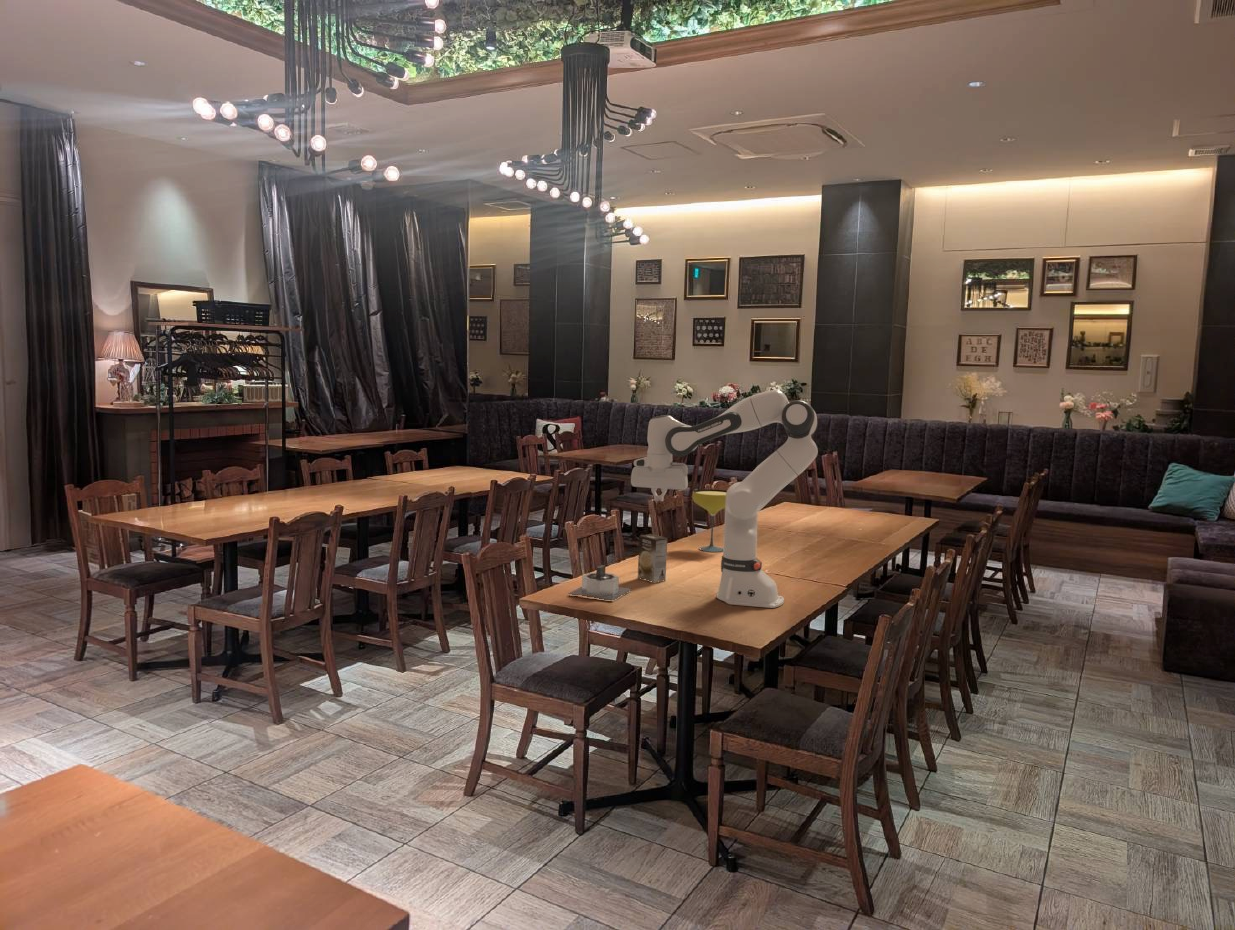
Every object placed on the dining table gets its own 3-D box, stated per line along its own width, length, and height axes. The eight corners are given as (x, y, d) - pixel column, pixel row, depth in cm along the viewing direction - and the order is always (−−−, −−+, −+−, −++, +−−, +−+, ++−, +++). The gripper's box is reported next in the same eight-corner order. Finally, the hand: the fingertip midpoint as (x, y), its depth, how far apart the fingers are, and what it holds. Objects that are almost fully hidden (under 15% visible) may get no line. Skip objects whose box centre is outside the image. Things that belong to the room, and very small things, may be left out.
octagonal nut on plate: (630, 591, 301) (631, 574, 300) (612, 602, 286) (612, 584, 285) (588, 585, 307) (589, 569, 306) (568, 596, 292) (568, 578, 292)
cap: (612, 580, 298) (612, 565, 297) (605, 583, 292) (605, 569, 292) (595, 578, 300) (596, 563, 299) (588, 581, 294) (589, 567, 294)
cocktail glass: (682, 546, 381) (684, 489, 378) (718, 544, 388) (720, 488, 386) (703, 555, 364) (706, 495, 362) (740, 552, 372) (743, 494, 369)
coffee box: (636, 578, 320) (638, 535, 319) (649, 576, 324) (650, 533, 323) (653, 583, 313) (655, 539, 312) (666, 581, 318) (668, 537, 316)
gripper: (690, 462, 303) (690, 501, 305) (636, 459, 311) (635, 497, 313) (685, 464, 298) (684, 504, 299) (629, 460, 305) (628, 500, 307)
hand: (658, 501), depth 306 cm, fingers closed
